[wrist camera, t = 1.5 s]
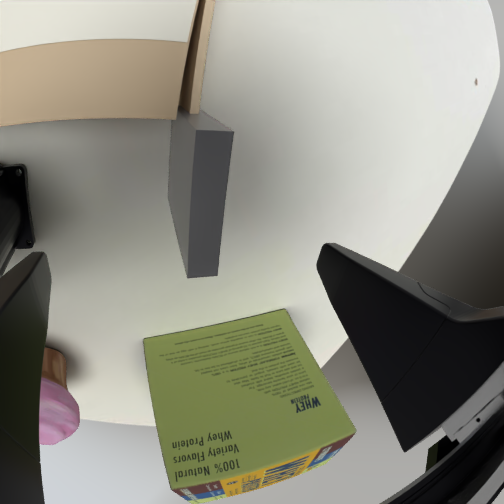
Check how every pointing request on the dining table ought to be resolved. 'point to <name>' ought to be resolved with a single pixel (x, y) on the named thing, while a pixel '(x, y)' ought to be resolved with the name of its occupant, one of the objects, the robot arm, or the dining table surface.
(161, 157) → the dining table surface
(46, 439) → the cupcake
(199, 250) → the grey and tan blocks
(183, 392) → the protein box
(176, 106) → the carton
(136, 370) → the dining table surface
